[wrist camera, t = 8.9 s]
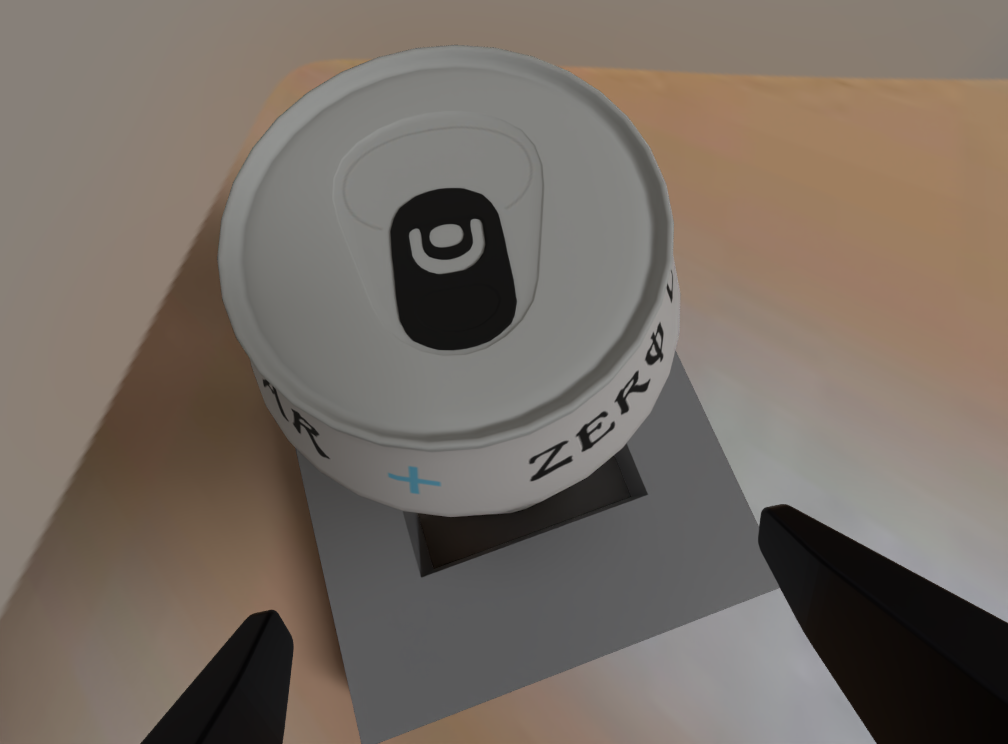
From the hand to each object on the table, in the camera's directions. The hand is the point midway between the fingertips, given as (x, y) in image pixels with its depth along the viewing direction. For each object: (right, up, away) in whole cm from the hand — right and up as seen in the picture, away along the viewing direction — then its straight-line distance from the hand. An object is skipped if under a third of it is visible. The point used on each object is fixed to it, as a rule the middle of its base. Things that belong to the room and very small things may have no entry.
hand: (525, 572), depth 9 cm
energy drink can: (-1, +1, +11) cm, 11 cm away
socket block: (-1, +1, +11) cm, 11 cm away
